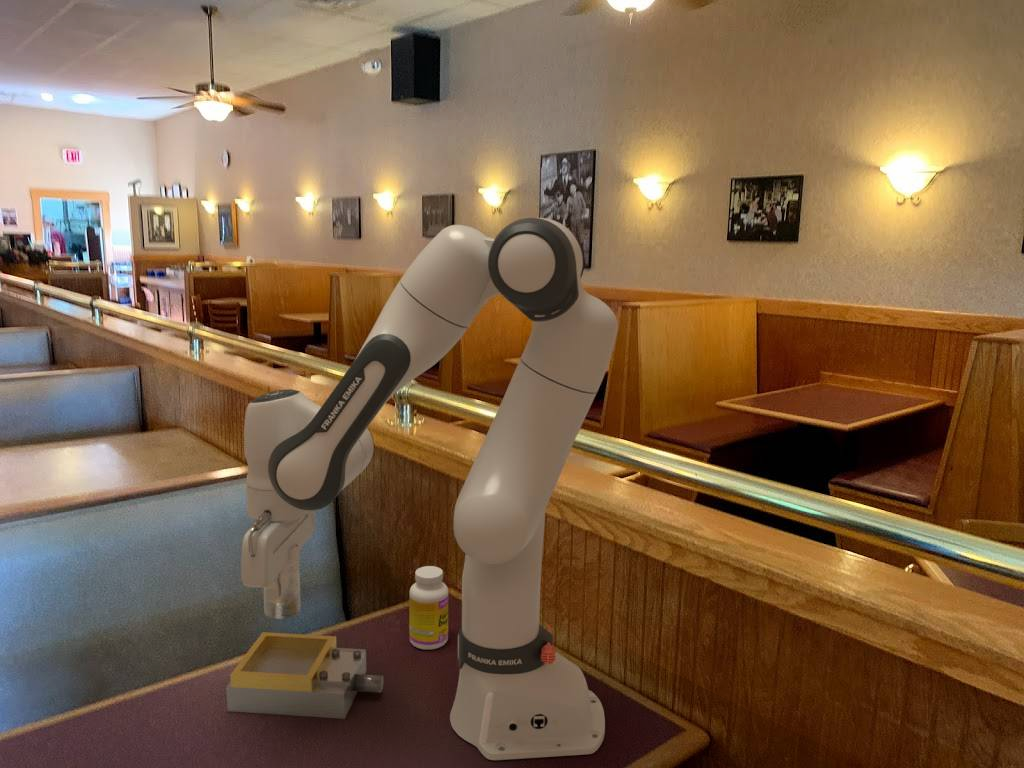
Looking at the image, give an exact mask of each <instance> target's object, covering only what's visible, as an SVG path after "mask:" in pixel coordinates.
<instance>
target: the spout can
mask: <svg viewBox="0 0 1024 768" xmlns="http://www.w3.org/2000/svg"><path fill="white" fill-rule="evenodd" d="M300 578H301V577H300V555H299V546H298V544H296V545H295V546H294V547H293V549H292V550H291V551H290V552H289V553H288V564H287V565H286V566H285V567H284V568H283V570H282V571H281V572H280V573H279V578H278V579H277V581H278V585H281V595H280V597H279V598H278V599H277V600H276V601H271V600H267V599H266V593H265V588H262V589H263V608H264V609H263V610H264V612H263V613H264V615H265V616H266V617H267V618H270V619H275V620H281V619H288V618H292V617H294V616H296V615H297V614H298V613H299V612H300V611H301V586H300V585H301V584H300V583H301V581H300V580H301V579H300Z"/></svg>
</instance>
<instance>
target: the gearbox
mask: <svg viewBox="0 0 1024 768" xmlns="http://www.w3.org/2000/svg"><path fill="white" fill-rule="evenodd" d="M229 675H230V676H229V677H230V681H229V682H228V684H227V685H226V688H225V692H226V705H227V712H231V713H232V712H235V713H249V714H250V713H251V714H265V715H279V716H280V715H282V716H295V717H311V718H312V717H313V718H329V719H340V720H341V719H343V720H344V719H346V717H347V715H348V713H349V712H350V709H351V707H352V705H353V702H354V700H355V698H356V695H357V693H358V692H367V693H379V694H380V693H382V692H383V688H384V675H376V674H374V675H373V674H367V651H366V648H365V649H361V648H346V647H337V636H334V635H320V634H319V635H318V634H317V635H316V634H304V633H303V634H301V633H299V634H298V633H282V632H281V633H280V632H267V631H264V632H263V631H262V632H261V634H260V635H259V637H258V638H257V639H256V641H254V643H253V645H251V647H250V648H249V649H248V651H247V652H246V653H245V655H244V656H243V657H242V659H241V660H240V661H239V663H238V664H237V665H236V666H235V668H234V669H233V671H232V672H231V673H230V674H229Z"/></svg>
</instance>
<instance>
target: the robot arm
mask: <svg viewBox="0 0 1024 768" xmlns="http://www.w3.org/2000/svg"><path fill="white" fill-rule="evenodd" d="M583 249H584V248H583V246H582V244H581V242H580V240H579V239H578V237H577V236H576V235H575V234H574V232H572V231H571V230H570V229H569V228H567V226H565V225H563V224H562V223H561V222H559V221H556V220H553V219H550V218H545V217H526V218H525V217H524V218H521V219H517V220H515V221H512V222H511V223H509V224H508V225H506V226H505V227H504V228H502V230H500V231H499V233H498V234H497V235H496V236H495V238H493V237H489V236H488V235H486V234H484V232H482V231H480V230H478V229H476V228H474V227H471V226H469V225H465V224H464V225H463V224H452V225H449V226H446V227H444V228H443V229H441V230H440V231H439V232H438V233H437V234H436V235H435V236H434V237H433V238H432V239H431V240H430V241H429V243H428V244H427V245H425V247H424V248H423V249H422V250H421V251H420V252H419V254H418V255H417V256H416V257H415V259H413V261H412V262H411V264H410V265H409V266H408V268H407V269H406V271H405V272H404V273H403V275H402V276H401V278H400V280H399V281H398V283H396V286H395V287H394V289H393V290H392V292H391V294H390V295H389V297H388V299H387V301H386V302H385V304H384V305H383V308H382V310H381V311H380V314H379V315H378V317H377V319H376V321H375V323H374V325H373V327H372V328H371V331H370V332H369V334H368V335H367V338H366V339H365V340H364V343H363V344H362V347H361V348H360V350H359V352H358V354H357V356H356V357H355V359H354V360H353V362H352V363H351V364H350V366H349V368H348V369H347V371H346V372H345V374H344V375H343V377H342V378H341V379H340V380H339V382H338V383H337V385H336V386H335V387H334V389H333V390H332V392H331V393H330V395H328V397H327V398H326V400H325V402H324V403H323V404H322V406H321V405H319V404H317V403H316V402H314V401H312V400H311V399H309V398H308V397H307V396H306V395H305V394H304V393H303V392H302V391H301V390H296V389H292V388H291V389H280V390H275V391H271V392H270V391H269V392H267V393H263V394H261V395H259V396H257V397H255V398H253V399H251V400H250V402H249V403H248V405H247V406H246V409H245V415H244V425H243V429H244V430H243V446H244V447H243V450H244V452H243V453H244V457H245V460H246V462H247V469H248V470H247V475H246V478H245V489H246V491H245V493H246V494H245V495H246V511H247V512H246V513H247V515H248V517H249V518H251V519H253V520H254V521H252V523H251V525H250V528H249V529H248V530H247V531H246V532H245V534H244V536H243V539H242V543H241V544H242V546H241V559H240V562H241V567H240V569H241V570H240V571H241V576H240V578H241V583H242V584H243V586H244V587H246V588H247V587H248V588H259V589H261V588H262V589H263V588H265V593H266V599H267V600H271V601H276V600H277V599H278V598H279V597H280V595H281V585H278V581H277V579H278V578H279V573H280V572H281V571H282V570H283V568H284V567H285V566H286V565H287V564H288V553H289V552H290V551H291V550H292V549H293V547H294V546H295V545H296V544H298V546H299V556H300V554H301V548H302V547H303V546H304V545H305V543H306V542H307V541H308V540H310V538H311V536H312V535H313V533H314V530H315V526H316V513H317V512H316V511H317V510H321V509H322V510H323V508H326V507H327V506H329V505H330V504H331V503H333V501H334V500H335V499H336V498H337V497H338V495H340V493H341V492H342V491H343V490H344V489H345V488H346V487H347V486H349V484H351V482H353V481H354V480H355V479H356V478H357V477H358V476H359V475H360V474H362V472H363V471H364V470H365V469H366V468H367V467H368V466H369V465H370V463H371V462H372V459H373V458H374V453H375V442H374V437H373V435H372V433H371V431H370V429H369V427H370V425H371V424H372V422H373V421H374V420H375V418H376V417H377V415H378V414H379V412H380V411H381V410H382V408H384V406H385V405H386V403H388V401H389V400H391V398H392V397H393V396H395V394H396V393H398V392H399V391H400V390H401V389H403V388H404V387H405V386H406V385H408V384H409V383H410V382H411V381H413V380H415V379H416V378H417V377H419V376H420V375H422V374H423V373H425V372H426V371H427V370H429V369H431V368H432V367H433V366H435V365H436V364H437V363H438V362H440V361H441V360H442V359H443V358H444V357H445V356H446V355H447V354H448V353H449V352H450V351H451V349H453V348H454V347H455V345H456V344H457V343H458V342H459V341H460V340H461V338H462V337H463V336H464V335H465V333H466V331H467V330H468V329H469V327H470V326H471V324H472V323H473V322H474V320H475V319H476V317H477V316H478V314H479V313H480V311H481V310H482V309H483V308H484V307H485V305H486V304H487V303H488V302H489V301H490V300H492V298H494V297H496V296H498V295H501V296H502V297H503V298H505V300H507V301H508V302H509V303H510V304H512V306H514V307H515V308H517V309H518V310H519V312H521V313H522V314H523V315H524V316H525V317H526V318H528V319H529V320H530V321H533V323H532V328H531V329H532V330H531V332H530V334H529V338H528V340H527V343H526V345H525V348H524V350H523V351H522V354H521V356H520V358H519V361H518V363H517V366H516V368H515V370H514V372H513V374H512V377H511V379H510V382H509V384H508V386H507V389H506V391H505V393H504V396H503V398H502V400H501V402H500V405H499V407H498V409H497V411H496V414H495V416H494V418H493V420H492V422H491V424H490V426H489V428H488V431H487V432H486V435H485V437H484V439H483V442H482V443H481V446H480V447H479V450H478V452H477V455H476V456H475V458H474V461H473V463H472V465H471V468H470V470H469V472H468V474H467V477H466V478H465V482H464V483H463V485H462V487H461V490H460V492H459V494H458V497H457V498H456V502H455V505H454V510H453V511H454V512H453V534H454V538H455V541H456V542H457V545H458V547H459V549H461V550H462V552H463V553H465V555H464V564H463V571H462V574H461V575H462V576H461V577H462V578H461V624H460V626H459V631H458V635H457V660H458V667H459V675H458V682H457V687H456V692H455V697H454V700H453V705H452V708H451V710H450V714H449V722H450V724H451V728H452V729H453V730H454V731H455V733H456V734H457V736H459V737H460V738H461V739H463V740H464V741H465V742H467V743H470V744H471V745H472V746H474V747H476V748H477V749H478V751H479V752H480V753H481V755H483V757H484V758H486V760H490V761H504V760H506V761H507V760H521V759H523V760H524V759H536V758H550V757H551V758H552V757H566V756H568V757H569V756H580V755H581V756H583V755H592V754H594V753H596V751H598V750H599V748H600V747H601V745H602V743H603V741H604V739H605V735H606V734H605V733H606V718H605V710H604V708H603V707H604V706H603V704H602V702H601V700H600V699H599V698H598V696H597V695H596V694H595V693H594V692H593V691H592V690H589V687H588V683H587V680H586V677H585V675H584V673H583V671H582V670H581V668H580V667H578V665H576V664H575V663H573V662H572V661H570V660H569V659H567V658H565V657H564V656H563V655H561V654H560V653H558V652H557V650H556V648H555V646H554V635H553V634H552V628H551V624H548V625H547V629H546V628H545V627H544V626H542V624H540V615H541V614H540V612H541V611H540V607H541V606H540V605H541V604H540V603H541V582H542V581H541V580H542V579H541V578H542V576H541V575H542V566H543V564H542V563H543V562H542V561H543V551H544V534H545V521H546V520H545V519H546V509H547V506H548V504H549V501H550V499H551V497H552V494H553V492H554V490H555V488H556V486H557V483H558V480H559V478H560V475H561V474H562V471H563V469H564V466H565V464H566V462H567V459H568V458H569V457H568V456H569V455H570V452H571V450H572V447H573V445H574V443H575V440H576V438H577V436H578V435H579V432H580V430H581V428H582V425H583V423H584V421H585V419H586V416H587V415H588V413H589V410H590V408H591V406H592V404H593V402H594V400H595V397H596V395H597V394H598V392H599V389H600V386H601V385H602V382H603V380H604V377H605V375H606V372H607V369H608V367H609V364H610V363H609V362H610V360H611V357H612V353H613V351H614V347H615V343H616V339H617V334H618V330H619V327H618V325H619V324H618V319H617V316H616V314H615V313H614V311H613V310H612V309H611V307H609V306H608V304H607V303H605V302H604V301H603V300H601V299H600V298H598V297H596V296H594V295H591V294H590V293H589V292H587V291H586V290H585V289H584V287H583V285H582V282H581V279H582V277H583V274H584V269H585V261H586V260H585V259H586V258H585V252H584V250H583Z"/></svg>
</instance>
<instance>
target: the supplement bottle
mask: <svg viewBox="0 0 1024 768" xmlns="http://www.w3.org/2000/svg"><path fill="white" fill-rule="evenodd" d="M414 579H415V583H413V584H412V585H411V587H410V589H409V592H408V593H409V596H408V597H409V601H408V602H409V625H408V627H409V642H410V643H411V645H412V646H413V647H414V648H415V647H416V649H420V650H429V651H430V650H436V649H439V648H441V647H443V646H444V645H445V644H446V643H447V642H448V640H449V588H448V586H447V585H446V583H445V582H444V581H443V579H444V572H443V569H442V568H440V567H438V566H435V565H426V566H421V567H419V568H416V570H415V573H414Z"/></svg>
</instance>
